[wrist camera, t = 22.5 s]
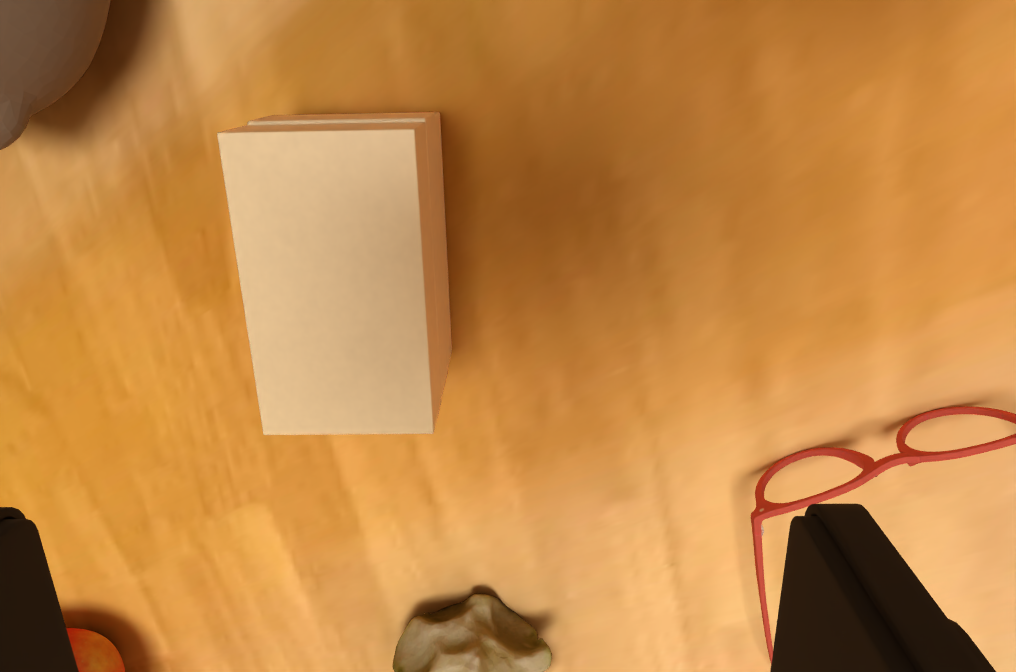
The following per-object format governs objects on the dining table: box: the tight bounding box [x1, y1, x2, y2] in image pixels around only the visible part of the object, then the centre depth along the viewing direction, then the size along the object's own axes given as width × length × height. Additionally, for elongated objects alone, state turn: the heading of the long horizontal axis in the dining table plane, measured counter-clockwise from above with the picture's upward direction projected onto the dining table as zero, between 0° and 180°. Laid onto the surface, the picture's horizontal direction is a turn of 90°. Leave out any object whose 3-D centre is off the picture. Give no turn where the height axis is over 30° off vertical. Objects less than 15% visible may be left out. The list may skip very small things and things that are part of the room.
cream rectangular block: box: [217, 122, 441, 435], centre depth 30 cm, size 12×7×3 cm, turn 1°
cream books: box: [247, 112, 452, 397], centre depth 34 cm, size 12×7×6 cm, turn 1°
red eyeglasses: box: [751, 407, 1016, 664], centre depth 40 cm, size 17×16×5 cm
